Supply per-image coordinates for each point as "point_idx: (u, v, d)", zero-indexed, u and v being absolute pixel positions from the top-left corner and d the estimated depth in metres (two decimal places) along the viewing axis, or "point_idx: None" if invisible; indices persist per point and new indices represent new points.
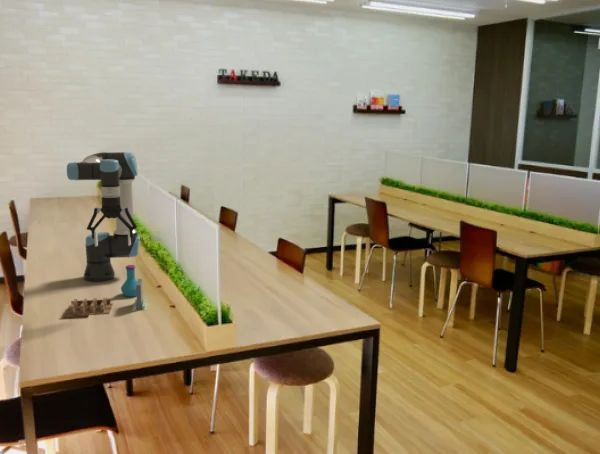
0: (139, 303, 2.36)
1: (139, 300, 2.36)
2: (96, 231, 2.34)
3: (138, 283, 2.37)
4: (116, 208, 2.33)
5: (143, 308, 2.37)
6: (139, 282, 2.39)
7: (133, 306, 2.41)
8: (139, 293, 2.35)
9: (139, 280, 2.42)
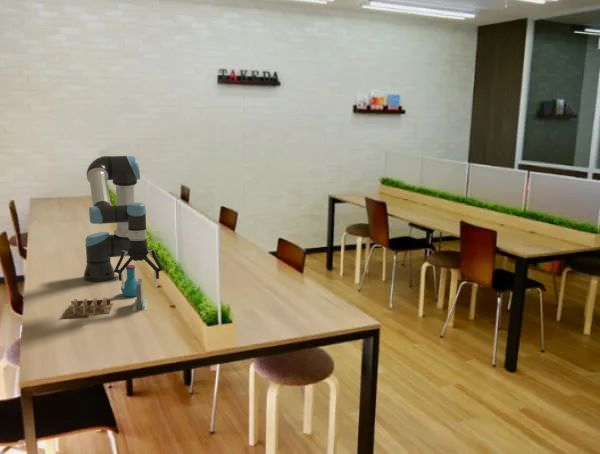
0: (139, 303, 2.36)
1: (139, 300, 2.36)
2: (123, 273, 2.37)
3: (138, 283, 2.37)
4: (143, 251, 2.36)
5: (143, 308, 2.37)
6: (139, 282, 2.39)
7: (133, 306, 2.41)
8: (139, 293, 2.35)
9: (139, 280, 2.42)
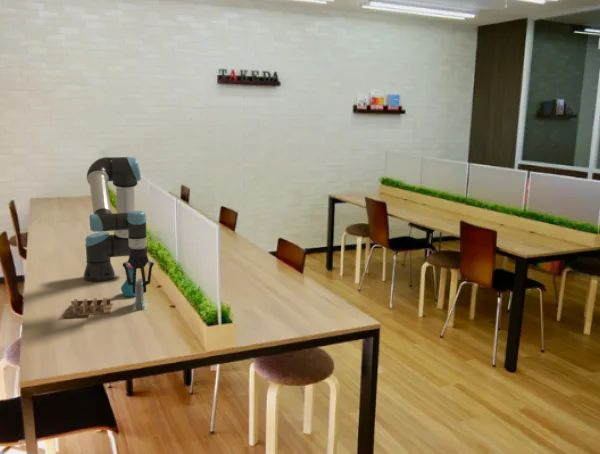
0: (139, 303, 2.36)
1: (139, 300, 2.36)
2: None
3: (138, 283, 2.37)
4: (144, 258, 2.37)
5: (143, 308, 2.37)
6: (139, 282, 2.39)
7: (133, 306, 2.41)
8: (139, 293, 2.35)
9: (139, 280, 2.42)
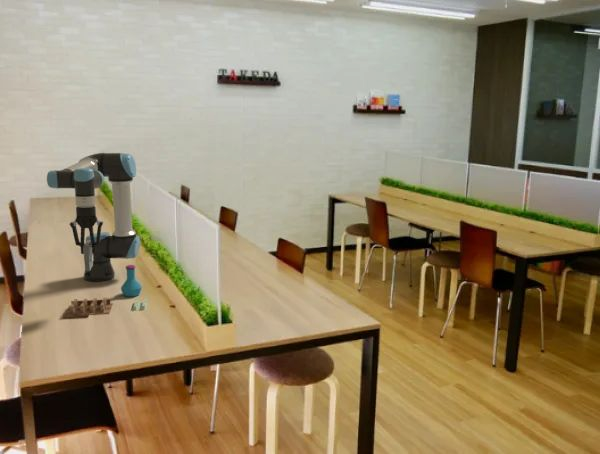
0: (87, 264, 2.27)
1: (87, 261, 2.27)
2: None
3: (86, 243, 2.28)
4: (93, 217, 2.28)
5: (143, 308, 2.37)
6: (87, 243, 2.30)
7: (133, 306, 2.41)
8: (87, 253, 2.26)
9: (88, 241, 2.33)
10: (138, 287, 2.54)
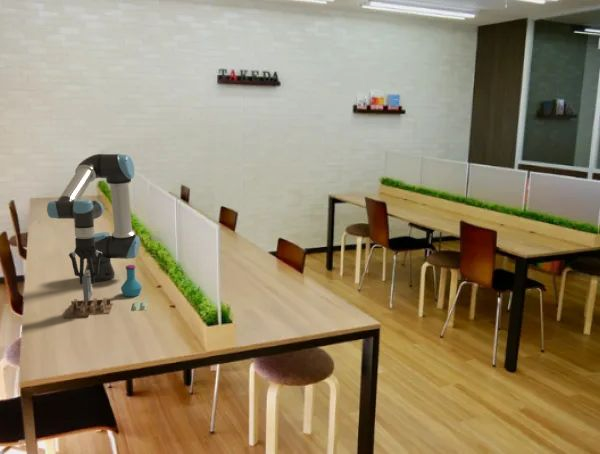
0: (86, 294, 2.29)
1: (86, 291, 2.29)
2: None
3: (85, 274, 2.30)
4: (92, 248, 2.30)
5: (143, 308, 2.37)
6: (86, 273, 2.32)
7: (133, 306, 2.41)
8: (86, 284, 2.28)
9: (87, 271, 2.35)
10: (138, 287, 2.54)
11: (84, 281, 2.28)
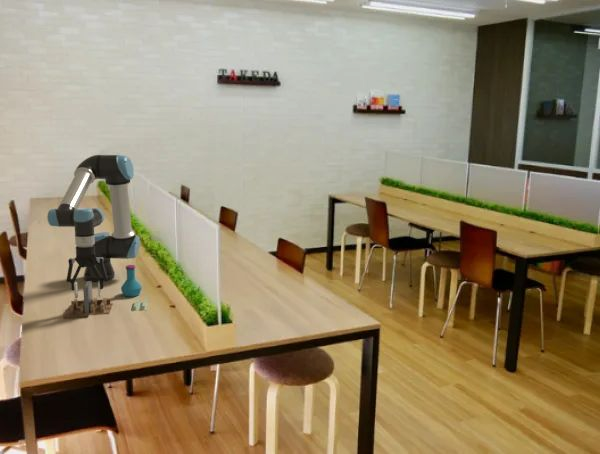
0: (87, 306, 2.30)
1: (87, 303, 2.30)
2: (76, 283, 2.32)
3: (86, 286, 2.31)
4: (91, 257, 2.31)
5: (143, 308, 2.37)
6: (87, 285, 2.33)
7: (133, 306, 2.41)
8: (86, 296, 2.30)
9: (88, 283, 2.36)
10: (138, 287, 2.54)
11: (85, 293, 2.29)
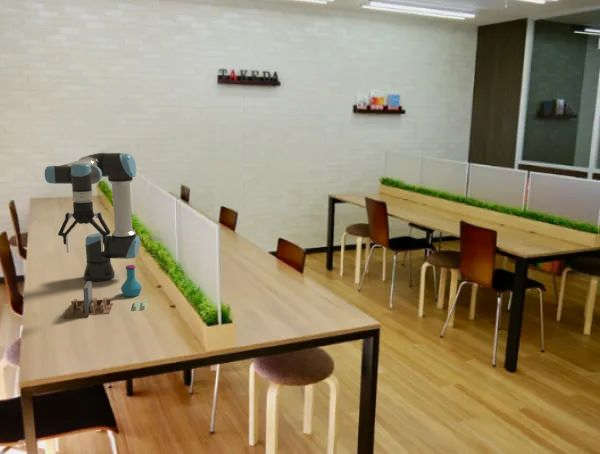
0: (87, 306, 2.30)
1: (87, 303, 2.30)
2: (68, 237, 2.28)
3: (86, 286, 2.31)
4: (88, 213, 2.27)
5: (143, 308, 2.37)
6: (87, 285, 2.33)
7: (133, 306, 2.41)
8: (86, 296, 2.30)
9: (88, 283, 2.36)
10: (138, 287, 2.54)
11: (85, 293, 2.29)
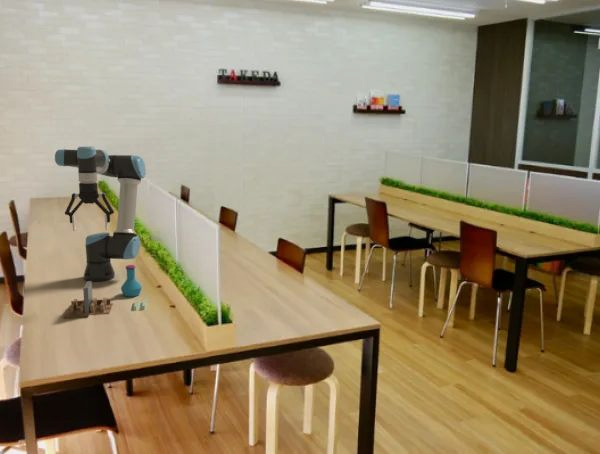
0: (87, 306, 2.30)
1: (87, 303, 2.30)
2: (74, 216, 2.42)
3: (86, 286, 2.31)
4: (93, 194, 2.41)
5: (143, 308, 2.37)
6: (87, 285, 2.33)
7: (133, 306, 2.41)
8: (86, 296, 2.30)
9: (88, 283, 2.36)
10: (138, 287, 2.54)
11: (85, 293, 2.29)
